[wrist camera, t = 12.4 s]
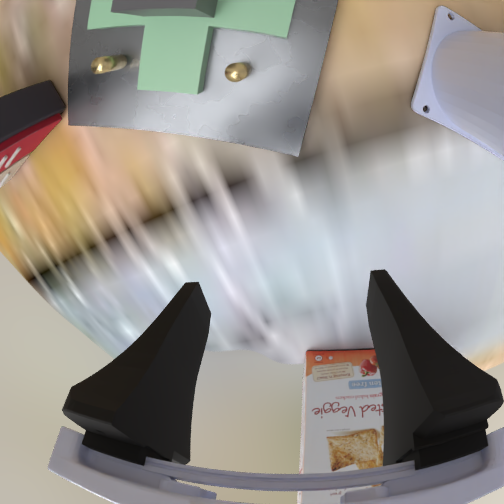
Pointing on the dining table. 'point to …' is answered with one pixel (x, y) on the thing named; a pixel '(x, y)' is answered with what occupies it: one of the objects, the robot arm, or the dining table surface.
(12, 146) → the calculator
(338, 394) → the cracker box
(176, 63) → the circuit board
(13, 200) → the dining table surface
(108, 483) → the robot arm
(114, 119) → the chassis plate
